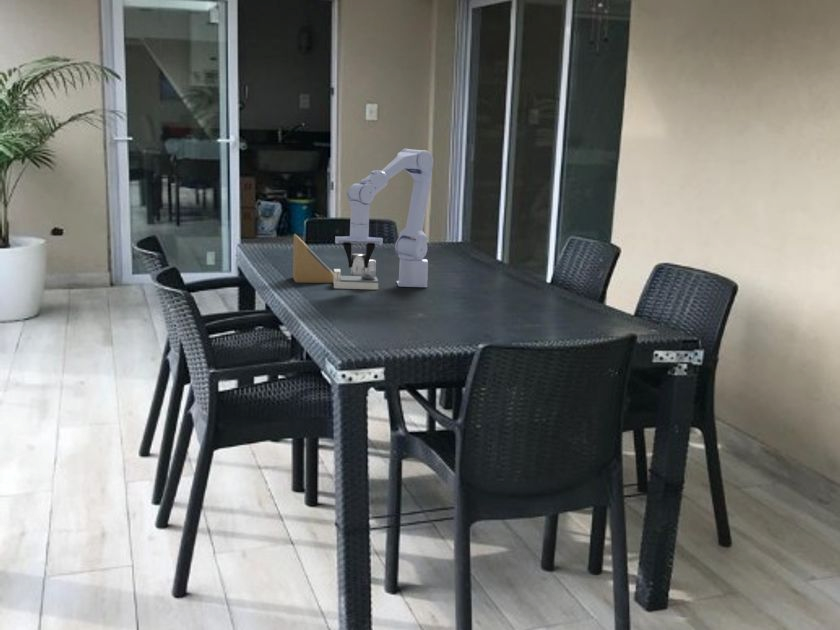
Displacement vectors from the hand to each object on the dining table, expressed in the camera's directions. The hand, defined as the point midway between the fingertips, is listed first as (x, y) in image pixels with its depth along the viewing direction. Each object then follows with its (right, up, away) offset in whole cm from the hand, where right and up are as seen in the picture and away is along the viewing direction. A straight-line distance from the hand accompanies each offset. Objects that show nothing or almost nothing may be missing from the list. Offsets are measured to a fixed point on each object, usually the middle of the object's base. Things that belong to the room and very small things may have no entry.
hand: (358, 267), depth 271 cm
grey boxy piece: (-2, -6, +11) cm, 13 cm away
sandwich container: (-15, -4, +18) cm, 24 cm away
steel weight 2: (+2, -3, +11) cm, 12 cm away
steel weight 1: (0, -2, 0) cm, 2 cm away
